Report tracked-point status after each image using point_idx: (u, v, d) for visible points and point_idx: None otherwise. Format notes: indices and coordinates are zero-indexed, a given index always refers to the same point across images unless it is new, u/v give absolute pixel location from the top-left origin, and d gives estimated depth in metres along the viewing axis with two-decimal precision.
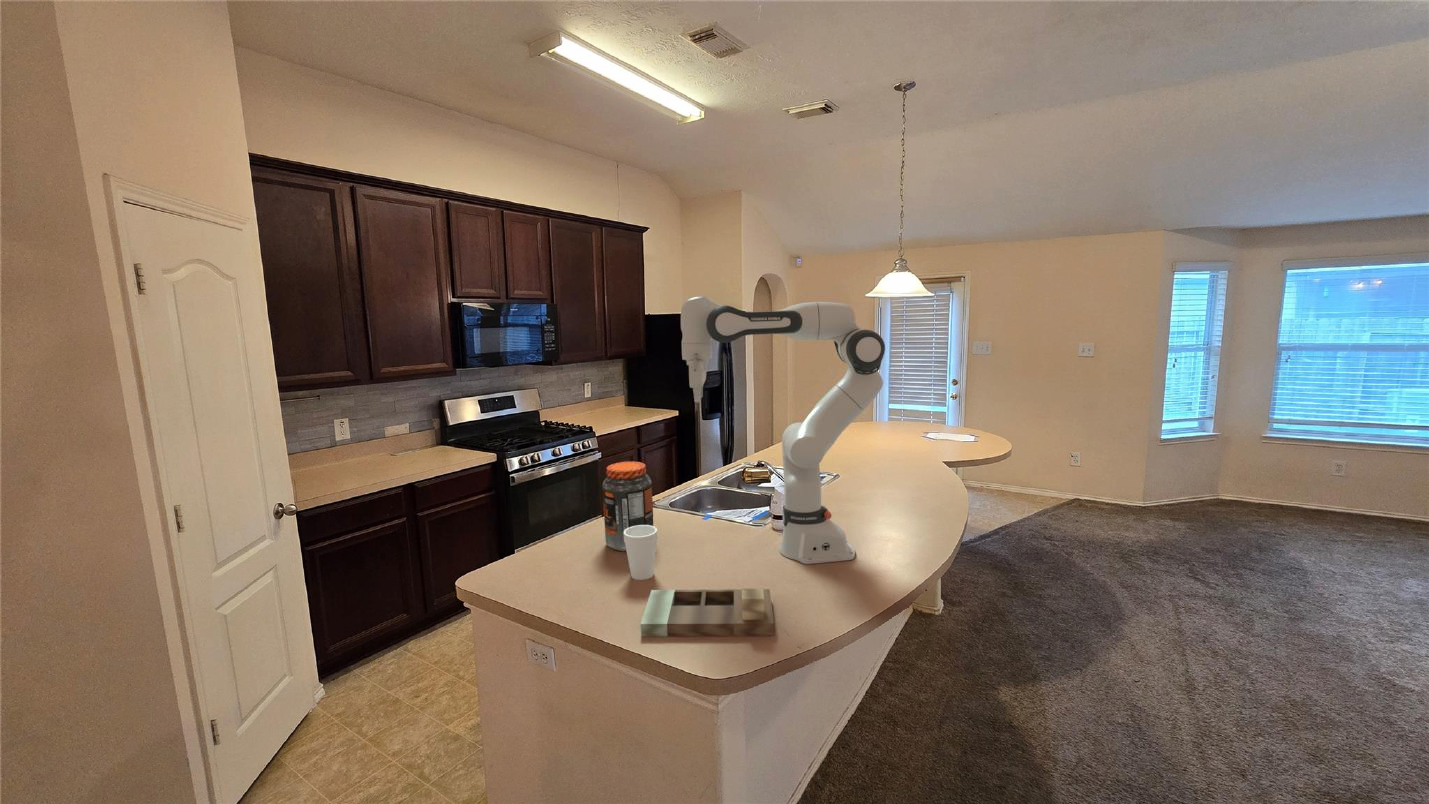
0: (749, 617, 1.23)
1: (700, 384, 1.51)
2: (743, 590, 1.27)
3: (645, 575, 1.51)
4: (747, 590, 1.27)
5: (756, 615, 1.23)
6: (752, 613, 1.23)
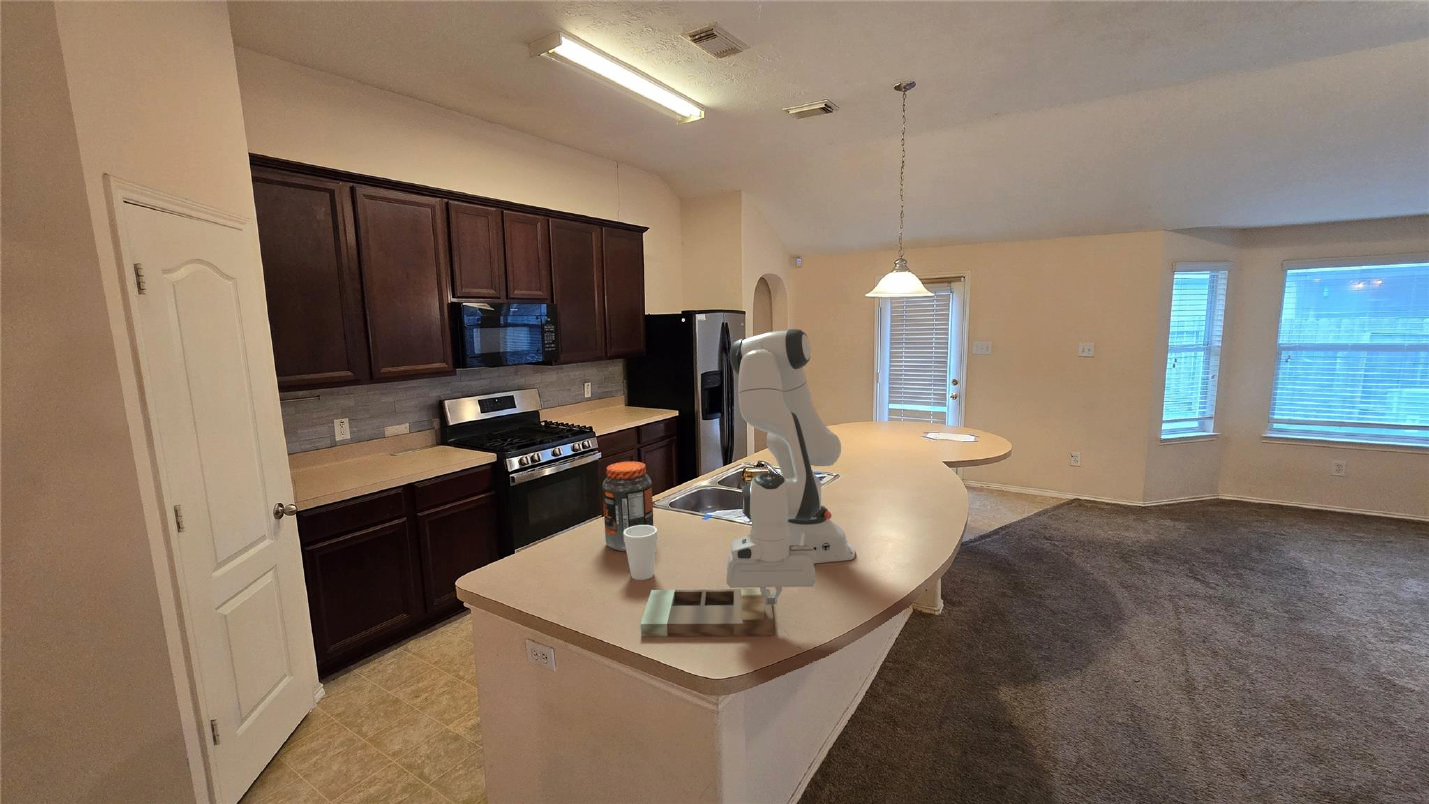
0: (749, 617, 1.23)
1: None
2: (742, 590, 1.27)
3: (645, 575, 1.51)
4: (747, 590, 1.27)
5: (756, 615, 1.23)
6: (752, 613, 1.23)
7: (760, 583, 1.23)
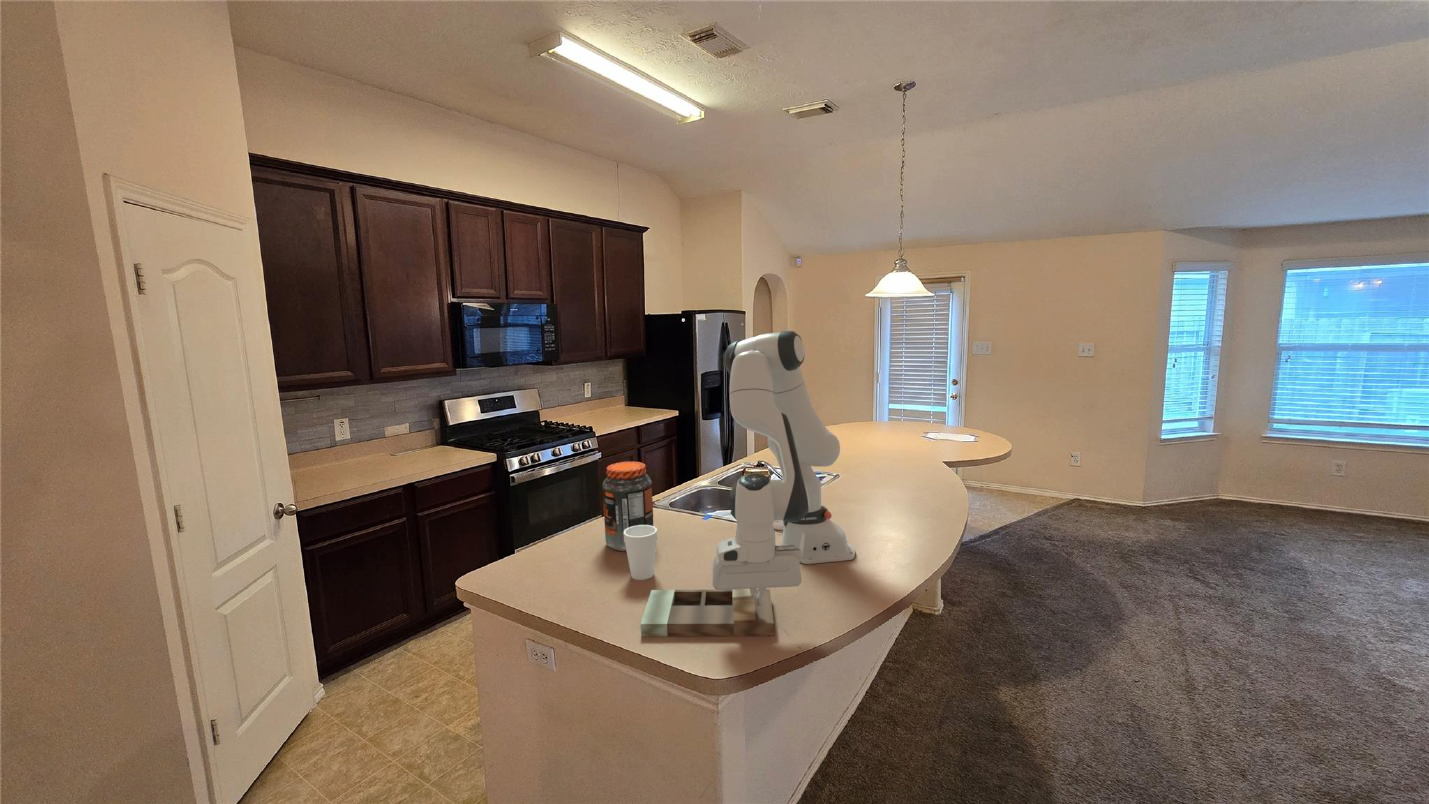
0: (740, 618, 1.23)
1: None
2: (733, 591, 1.27)
3: (645, 575, 1.51)
4: (738, 591, 1.26)
5: (747, 616, 1.23)
6: (743, 614, 1.23)
7: (746, 585, 1.22)
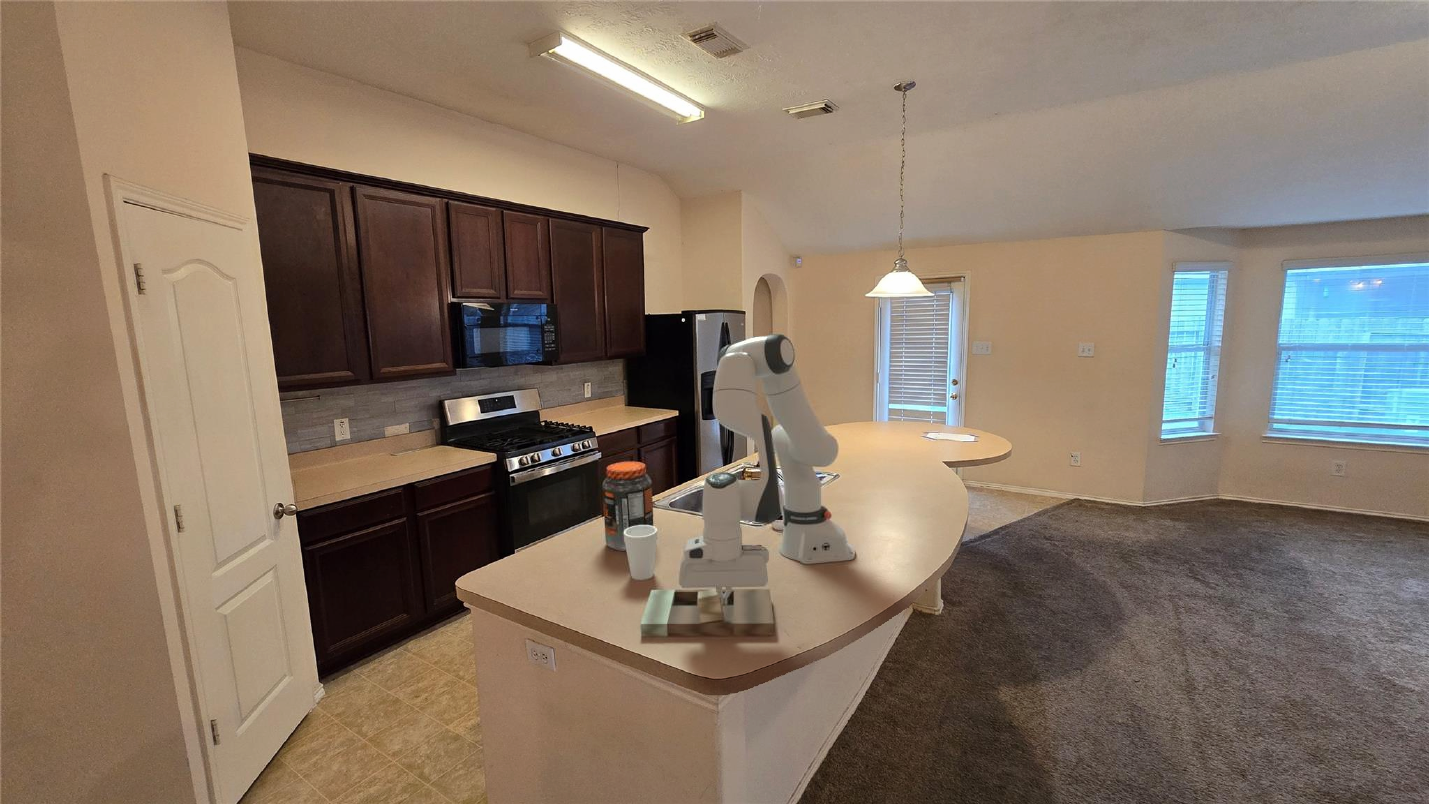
0: (707, 619, 1.23)
1: None
2: (699, 593, 1.26)
3: (645, 575, 1.51)
4: (703, 592, 1.26)
5: (714, 616, 1.22)
6: (709, 615, 1.22)
7: (712, 583, 1.22)
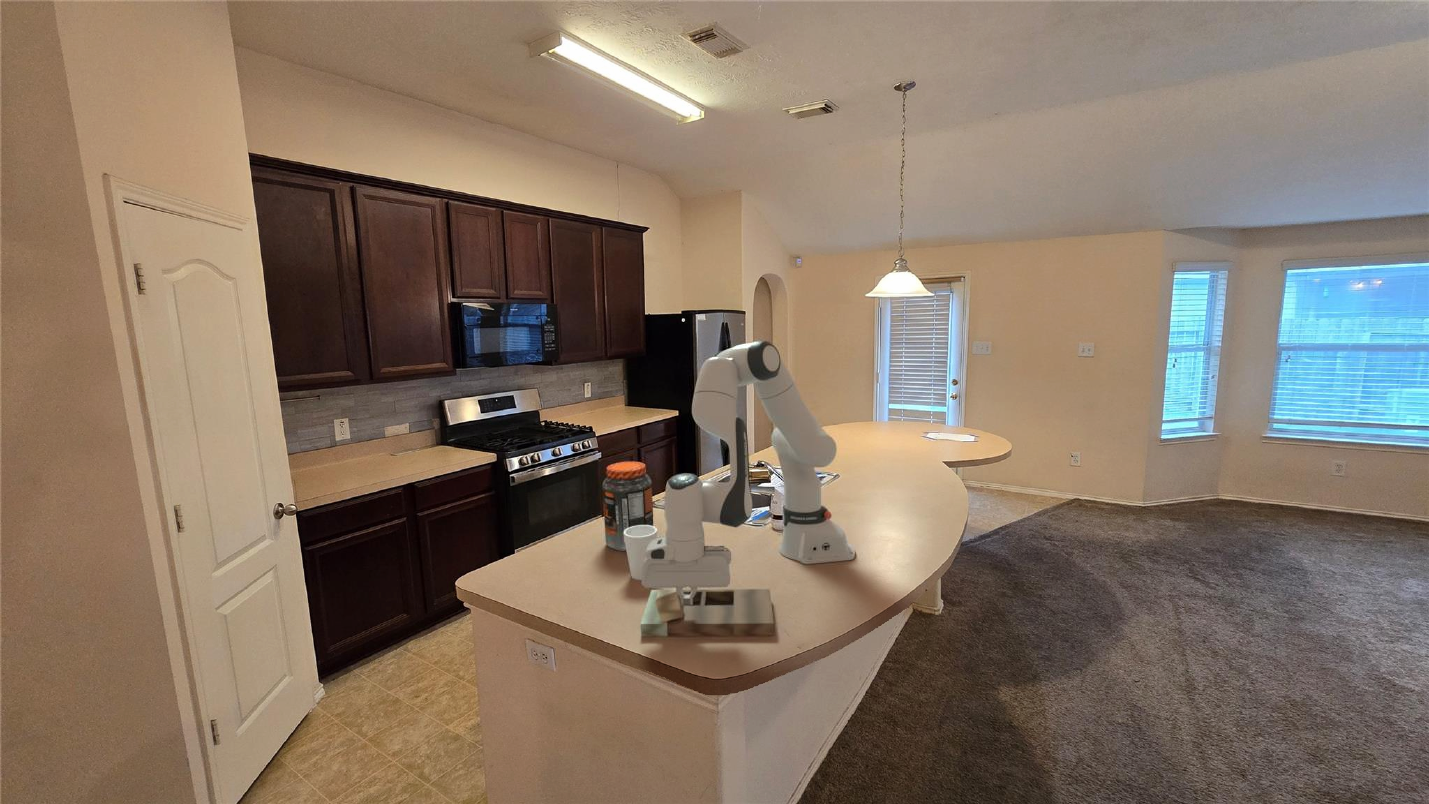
0: (667, 618, 1.23)
1: None
2: (658, 592, 1.27)
3: None
4: (662, 592, 1.27)
5: (673, 614, 1.23)
6: (669, 613, 1.23)
7: (675, 583, 1.23)
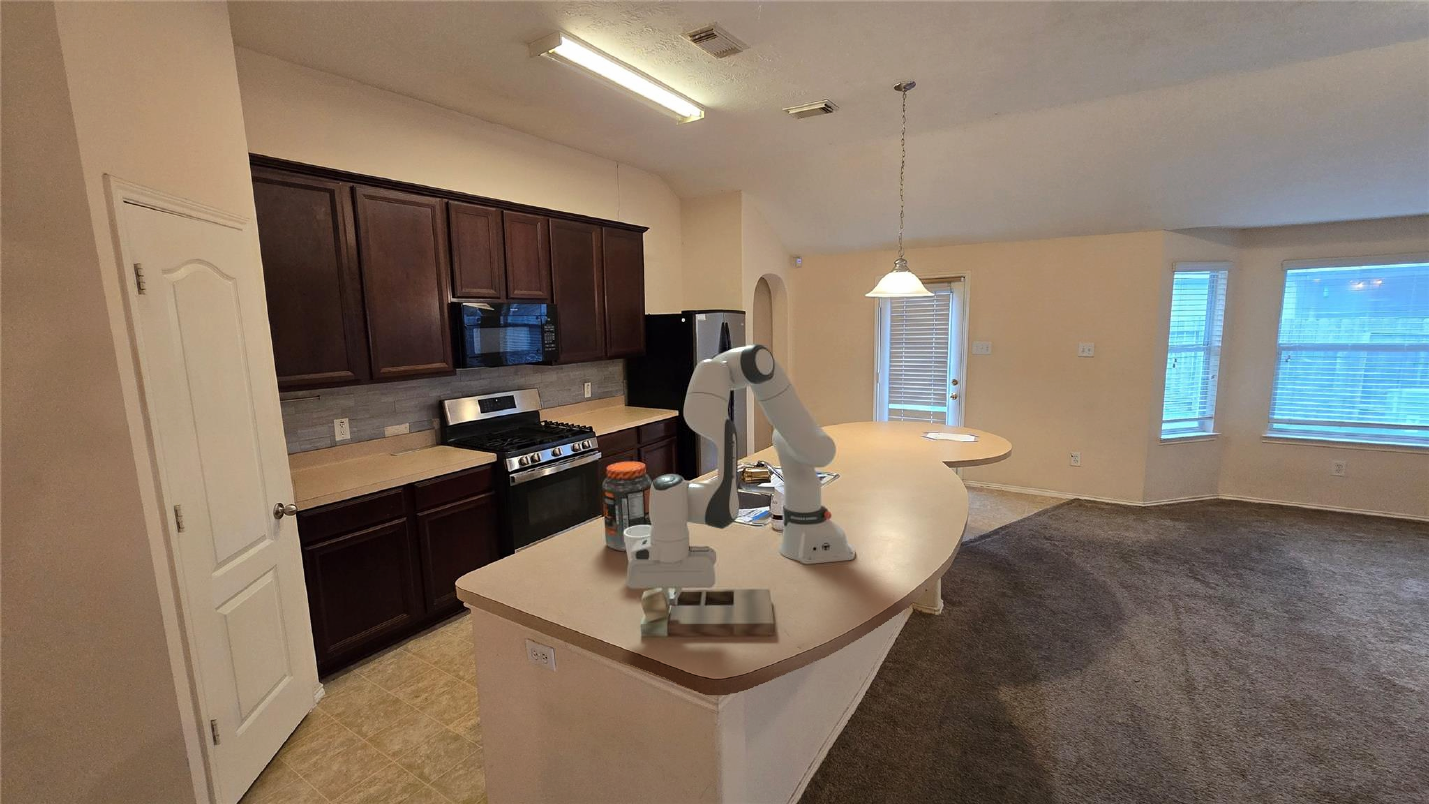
0: (653, 618, 1.24)
1: None
2: (644, 592, 1.27)
3: None
4: (648, 592, 1.27)
5: (659, 614, 1.23)
6: (654, 613, 1.23)
7: (660, 584, 1.23)
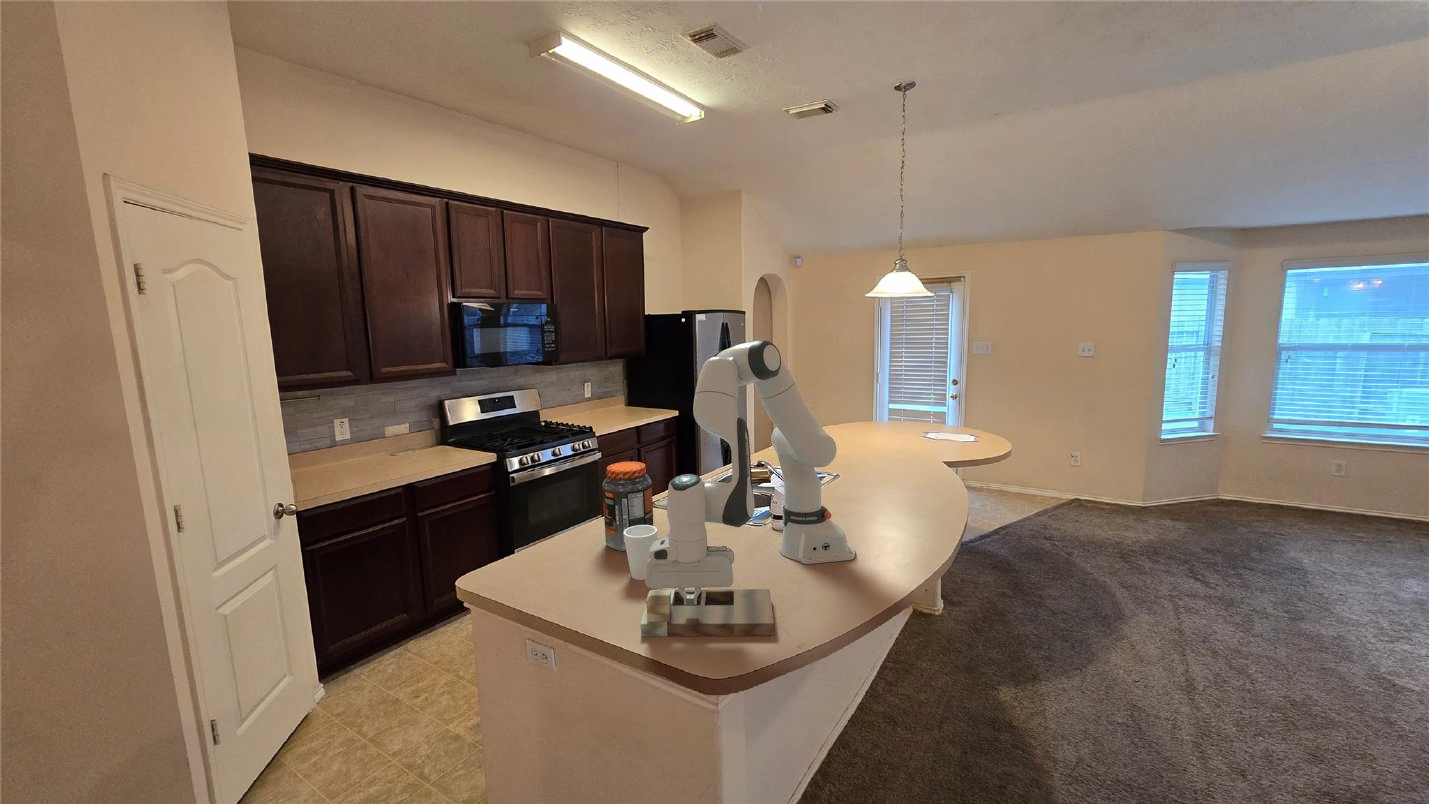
0: (654, 619, 1.24)
1: None
2: (650, 592, 1.27)
3: None
4: (654, 592, 1.27)
5: (661, 617, 1.24)
6: (657, 615, 1.23)
7: (678, 584, 1.24)
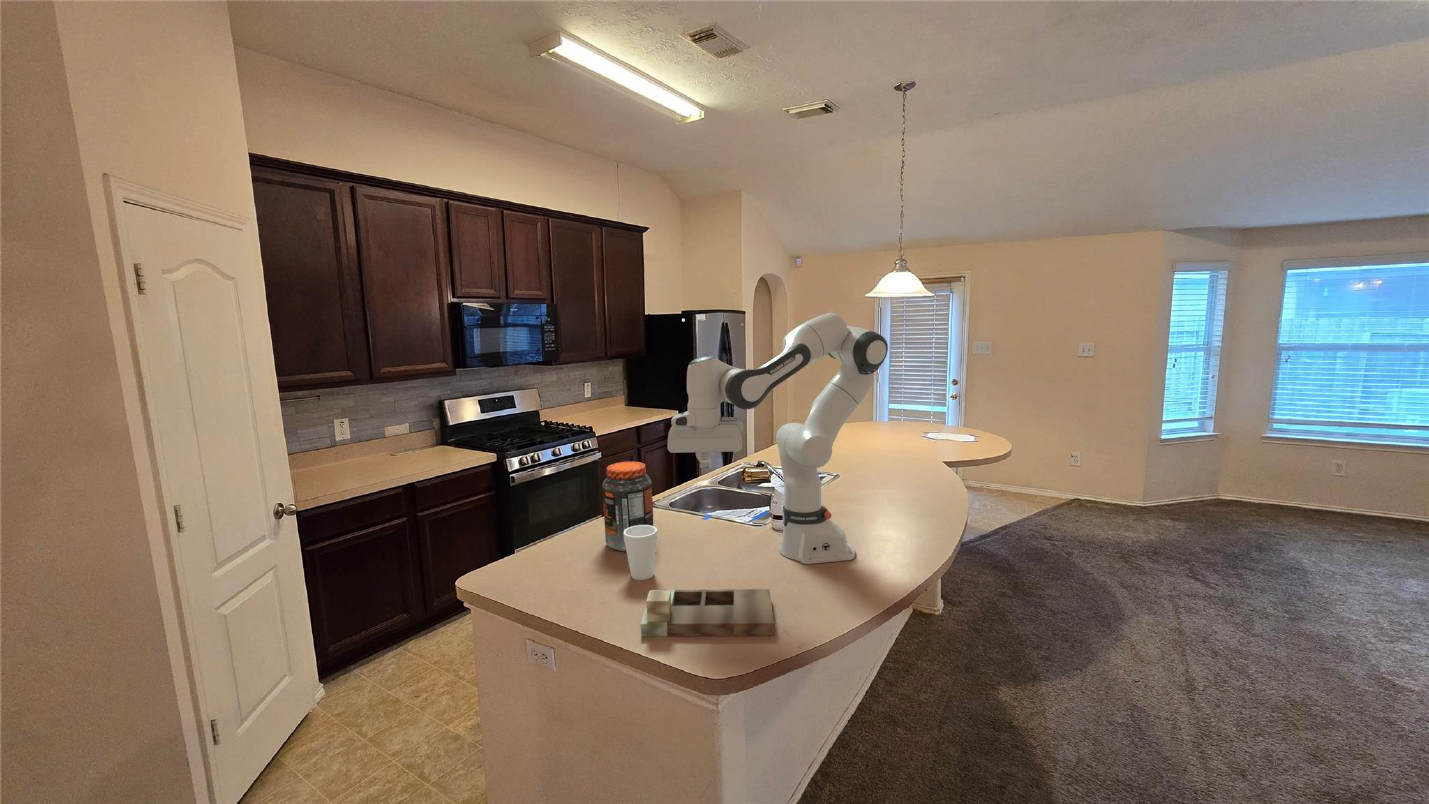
0: (654, 619, 1.24)
1: None
2: (650, 592, 1.27)
3: (645, 575, 1.51)
4: (654, 592, 1.27)
5: (661, 617, 1.24)
6: (657, 615, 1.23)
7: (695, 448, 1.46)
